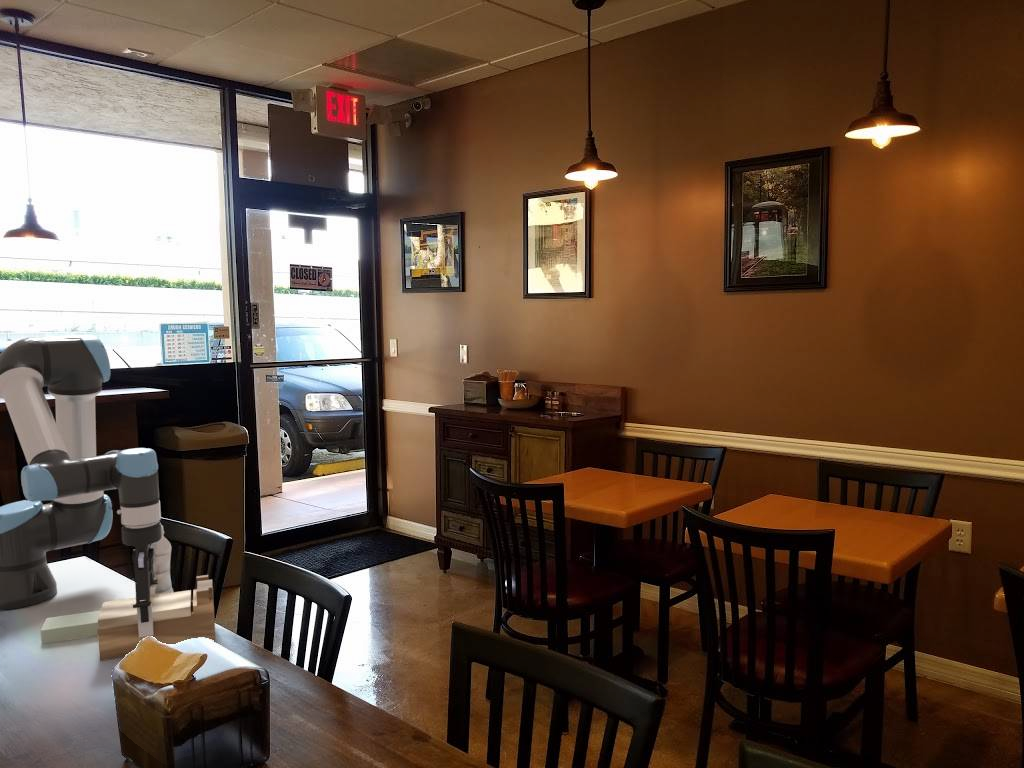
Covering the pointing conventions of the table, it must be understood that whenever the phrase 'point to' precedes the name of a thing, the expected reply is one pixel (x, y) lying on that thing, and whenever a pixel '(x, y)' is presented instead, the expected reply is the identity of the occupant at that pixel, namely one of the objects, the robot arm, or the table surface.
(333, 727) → the table surface
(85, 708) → the table surface
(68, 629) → the block
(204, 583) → the block
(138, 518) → the robot arm
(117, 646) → the toolbox
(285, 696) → the table surface
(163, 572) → the plastic bottle
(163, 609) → the lid
